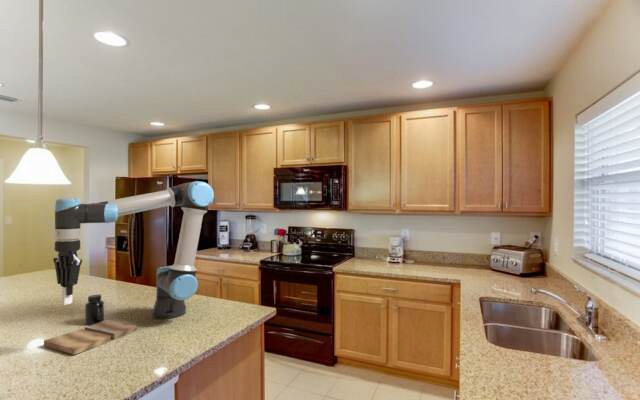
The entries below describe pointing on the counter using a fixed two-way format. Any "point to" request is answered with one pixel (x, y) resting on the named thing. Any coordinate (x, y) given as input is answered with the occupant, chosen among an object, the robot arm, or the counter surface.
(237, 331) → the counter surface
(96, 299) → the supplement bottle
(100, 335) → the oak plank
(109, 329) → the walnut board
